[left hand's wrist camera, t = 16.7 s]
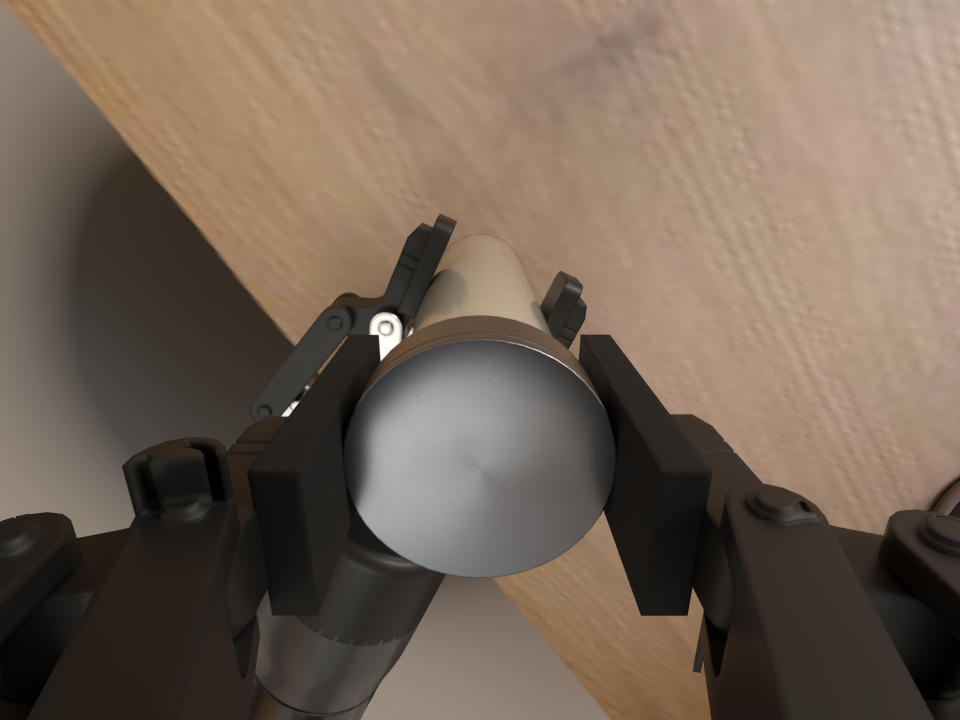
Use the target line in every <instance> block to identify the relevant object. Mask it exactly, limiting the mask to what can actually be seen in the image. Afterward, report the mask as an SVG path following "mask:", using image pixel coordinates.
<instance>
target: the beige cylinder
mask: <svg viewBox="0 0 960 720" xmlns="http://www.w3.org/2000/svg"><path fill="white" fill-rule="evenodd" d="M474 315H487V316H499V317H504V318H509V319H514V320H517V321H520V322H523V323H526V324H529V325H531V326H534V327H536V328H538V329H540V330H542V331H544V332H546V333H547V334H549V335H550V336H552V334H551V332H550V330H549V327H548V325H547V322H546V320H545V318H544V315H543V313H542V311H541V308H540V306H539V303H538V301H537V299H536V296H535V294H534V291H533V289H532V287H531V284H530V282H529V280H528V277H527V275H526V272H525V270H524V268H523V265H522V263H521V261H520V259H519V257H518V255H517V254H516V252H515V251H514V250H513V249H512V248H511V247H510V246H509V245H508V244H506V243H505V242H503V241H502V240H500V239H498V238H495V237H492V236H487V235H472V236H468V237H465V238H462V239H460V240H458V241H456V242H455V243H453V244H452V245H451V246H450V247H449V248H448V249H447V250H446V251H445V252H444V253H443V255H442V258H441V260H440V262H439V264H438V267H437V269H436V271H435V274H434V276H433V278H432V281H431V283H430V285H429V287H428V290H427V292H426V294H425V296H424V298H423V300H422V303H421V305H420V308H419V310H418V312H417V315H416V317H415V319H414V322H413V324H412V327H411V329H410V331H409V334H408V336H410V335H411V334H413V333H414V332H416V331H418V330H420V329H422V328H424V327H426V326H429V325H431V324H433V323H437V322H440V321H443V320H446V319H450V318H456V317H461V316H474ZM408 336H407V337H408Z"/></svg>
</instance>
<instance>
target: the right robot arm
mask: <svg viewBox="0 0 960 720" xmlns="http://www.w3.org/2000/svg"><path fill="white" fill-rule="evenodd" d="M456 223H457V221H455V220H453V219H451V218H449V217H446V216H444V215H442V214H440V215H439V216H438V218H437V220H436V222H435V224H434V226H433V227H431V226H429V225H426V224H424V223H421V224H420V225H419V226H418V227H417V228H416V229H415V230H414V231H413V232H412V233H411V235H410V236H409V237H408V238H407V240H406V243H405V245H404V248H403V250H402V253H401V255H400V258H399V260H398V263H397V265H396V267H395V270H394V272H393V275H392V277H391V280H390V282H389V285H388V287H387V290H386V292H385V294H384V295H383V296H381V297H378V298H363V297H359V296H358V295H356V294H354V293H343V294H341V295H340V296H339V297H338V298H337V299H336V300H335V301H334V302H333V304H332V305H331V306H329V307H327V308H326V309H325V310H324V311H323V312H322V313H321V314H320V316H319V317H318V318H317V319H316V321H315V322H314V323H313V325H312V326H311V327H310V328H309V330H308V331H307V332H306V334H305V335H304V336H303V337H302V339H301V340H300V341H299V343H298V344H297V345H296V346H295V348H294V349H293V350H292V352H291V353H290V354H289V355H288V357H287V358H286V359H285V361H284V362H283V363H282V365H281V366H280V367H279V368H278V370H277V371H276V372H275V373H274V375H273V376H272V377H271V379H270V380H269V381H268V383H267V384H266V385H265V386H264V388H263V389H262V390H261V391H260V393H259V394H258V395H257V397H256V398H255V399H254V401H253V402H252V403H251V405H250V409H249V411H250V415H251V417H252V418H253V419H254V420H255V421H256V422H259V421H260V420H262V419H264V418H266V417H267V416H289V415H290V413H291V412H292V411H293V409H294V408H295V407H296V405H297V404H298V403H299V401H300V400H301V399H302V397H303V396H304V395H305V394H306V392H307V391H308V390H309V388H310V387H311V386H312V384H313V383H314V382H315V380H316V379H315V378H313V376H314V375H315V374H316V373H317V371H318V370H319V369H320V368H321V367H322V365H323V364H324V363H325V362H326V360H327V359H328V358H329V357H330V355H331V354H332V353H333V352H334V350H335V349H336V348H337V347H338V345H339V344H340V343H341V342H342V340H343V339H344V338H345V337H346V336H349V335H379V342H380V357H381V361H382V359H383V358H384V357H385V356H386V355H387V354H388V353H389V352H390V350H391V349H393V348H394V347H395V346H396V345H397V344H399V343H400V342H401V341H402V340H403V339H405V338H407V336H408V334H409V321H410V318H412V319H415V317H416V315H417V312H418V310H419V308H420V305H421V303H422V300H423V298H424V296H425V294H426V292H427V290H428V287H429V285H430V283H431V281H432V278H433V276H434V274H435V271H436V269H437V267H438V264H439V262H440V260H441V258H442V255H443V253H444V251H445V248H446V246H447V244H448V241H449V239H450V237H451V234H452V232H453V230H454V228H455V225H456ZM582 289H583V286H582V284H581V283H580V282H579V281H578V280H577V279H576V278H574V277H572V276H570V275H568V274H566V273H564V272H562V271H560V272H559V273H558V274H557V276H556V277H555V279H554V281H553V283H552V285H551V287H550V288H549V290H548V292H547V294H546V296H545V298H544V300H543V302H542V304H541V306H540V308H541V311H542V313H543V315H544V318H545V320H546V322H547V325H548V327H549V330H550V332H551V334H552V337H553V338H554V339H556V340H557V341H559V342H560V343H561V344H562V345H563V346H565V347H566V348H567V349H569V348H570V346H571V344H572V341H573V340H574V339H575V337H576V335H577V332H578V331H579V329H580V328H581V326H582V324H583V322H584V320H585V315H586V308H587V305H586V304H585V303H584V301H583V300H582V299H581V297H580V295H581V293H582ZM933 512H938V513H943V514H944V515H946V516H947V515H950V516H953V517H957V518H959V519H960V480H959V481H958V482H957V483H956V484H954V485H953V486H952V487H951V488H950V489H949V490H948V491H947V492H946V493H945V494H944V495H943V496H942V498H941V499H940V500H939V501H938V503H937V504H936V506H935V507H934V509H933ZM445 575H446V574H443V573H440V572H436V571H433V570H429V569H427V568H424V567H422V566H419V565H417V564H414V563H413V562H411V561H409V560H407V559H405V558H403V557H401V556H400V555H398V554H397V553H396V552H394V551H393V550H391V549H390V548H388V547H387V546H386V545H385V544H384V543H383V542H382V541H380V540H379V539H378V538H377V537H376V536H375V535H374V534H373V533H372V531H371V530H370V529H369V528H368V527H367V526H366V525H365V523H364V522H363V520H362V519H361V517H360V516H359V514H358V513H357V511H356V512H355V515H354V518H353V520H352V523H351V526H350V529H349V532H348V534H347V537H346V540H345V543H344V546H343V548H342V551H341V554H340V557H339V560H338V562H337V565H336V568H335V571H334V574H333V577H332V579H331V582H330V585H329V588H328V591H327V593H326V596H325V599H324V602H323V605H322V607H321V610H320V613H319V616H272V612H271V606H270V600H269V595H268V589H267V591H266V593H265V595H264V597H263V599H262V601H261V603H260V605H259V607H258V609H257V611H256V613H257V618H258V623H259V630H260V641H259V648H258V655H257V663H256V670H255V677H254V685H253V692H252V699H251V707H250V714H249V720H360V719H361V717H362V715H363V713H364V711H365V709H366V708H367V706H368V704H369V702H370V700H371V698H372V697H373V695H374V693H375V691H376V689H377V688H378V686H379V684H380V683H381V681H382V680H383V678H384V677H385V676H386V675H387V674H388V672H389V671H390V670H391V669H392V667H393V666H394V665H395V663H396V662H397V660H398V659H399V658H400V656H401V655H402V653H403V651H404V649H405V648H406V646H407V644H408V642H409V641H410V639H411V637H412V635H413V633H414V632H415V630H416V628H417V626H418V624H419V623H420V621H421V619H422V617H423V615H424V614H425V612H426V610H427V608H428V606H429V605H430V603H431V601H432V599H433V597H434V595H435V593H436V592H437V590H438V588H439V586H440V584H441V583H442V581H443V579H444V577H445Z"/></svg>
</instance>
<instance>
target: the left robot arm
mask: <svg viewBox="0 0 960 720" xmlns="http://www.w3.org/2000/svg"><path fill="white" fill-rule="evenodd" d="M380 362H381V357H380V342H379V335H349V337H348V338H347V339H346V341H345V342H344V343H343V345H342V346H341V347H340V349H339V350H338V351H337V353H336V354H335V355H334V356H333V358H332V359H331V360H330V362H329V363H328V364H327V366H326V367H325V368H324V370H323V371H322V372H321V374H320V375H319V376H318V378H317V379H316V380H315V382H314V383H313V384H312V386H311V387H310V388H309V390H308V391H307V392H306V394H305V395H304V396H303V397H302V399H301V400H300V401H299V403H298V404H297V405H296V407H295V408H294V409H293V411H292V412H291V413H290V415H289V416H267V417H266V418H264V419H262V420H260V421H259V422H257V423H255V424H254V425H252V426H250V427H248V428H247V429H246V431H245V432H244V433H243V434H242V435H241V436H240V437H239V439H238V440H237V441H236V444H233V445H232V447H231V448H230V449H229V450H228V451H227V452H226V449H225V445H224V444H222V443H221V442H219V441H218V440H215V439H210V438H205V437H195V438H182V439H177V440H172V441H167V442H164V443H161V444H158V445H155V446H153V447H149V448H147V449H145V450H143V451H142V452H140V453H138V454H136V455H134V456H133V457H131V458H130V459H129V460H128V461H127V462H126V463H125V464H124V465H123V466H122V468H123V471H124V475H125V479H126V482H127V486H128V490H129V494H130V497H131V501H132V505H133V509H134V512H135V518H134V520H133V522H132V524H131V526H130V528H126V529H122V530H117V531H112V532H107V533H101V534H96V535H91V536H86V537H81V538H77V537H76V534H75V531H74V528H73V525H72V522H71V520H70V519H69V518H68V517H66V516H65V515H63V514H58V513H50V512H45V513H37V514H25V515H21V516H17V517H16V518H13V517H12V518H9V519H6V520H3V521H1V522H0V720H249V714H250V707H251V699H252V692H253V685H254V677H255V670H256V663H257V655H258V648H259V641H260V630H259V623H258V618H257V613H256V611H257V609H258V607H259V605H260V603H261V601H262V599H263V597H264V595H265V593H266V591H267V589H268V595H269V600H270V606H271V612H272V616H319V613H320V610H321V607H322V605H323V602H324V599H325V596H326V593H327V591H328V588H329V585H330V582H331V579H332V577H333V574H334V571H335V568H336V565H337V562H338V560H339V557H340V554H341V551H342V548H343V546H344V543H345V540H346V537H347V534H348V532H349V529H350V526H351V523H352V520H353V518H354V515H355V512H356V509H355V507H354V505H353V502H352V500H351V498H350V496H349V492H348V489H347V486H346V483H345V473H344V464H343V444H344V437H345V433H346V429H347V426H348V423H349V420H350V417H351V415H352V413H353V411H354V409H355V407H356V405H357V403H358V401H359V399H360V397H361V395H362V393H363V391H364V389H365V387H366V385H367V383H368V381H369V379H370V377H371V375H372V374H373V372H374V371H375V369H376V368H377V366H378V365H379V363H380ZM579 362H580V364H581V365H582V366H583V368H584V370H585V371H586V373H587V375H588V376H589V378H590V380H591V382H592V384H593V386H594V388H595V390H596V392H597V394H598V395H599V397H600V399H601V401H602V403H603V405H604V407H605V409H606V412H607V414H608V416H609V419H610V421H611V423H612V427H613V431H614V435H615V438H616V447H617V460H616V470H615V479H614V485H613V488H612V491H611V494H610V497H609V500H608V502H607V504H606V506H605V508H604V513H605V516H606V518H607V521H608V524H609V527H610V530H611V533H612V535H613V538H614V541H615V544H616V547H617V549H618V552H619V555H620V558H621V561H622V563H623V566H624V569H625V572H626V575H627V577H628V580H629V583H630V586H631V589H632V592H633V594H634V597H635V600H636V603H637V606H638V608H639V611H640V614H641V616H687V615H688V610H689V604H690V598H691V593H692V587H693V589H694V591H695V593H696V595H697V597H698V599H699V601H700V603H701V605H702V607H703V609H704V612H703V618H702V623H701V628H700V634H699V639H698V644H697V650H696V655H695V660H694V668H693V671H694V672H698V673H701V668H702V663H703V661H704V669H705V676H706V683H707V691H708V698H709V705H710V712H711V720H960V519H959V518H957V517H953V516H950V515H947V516H946V515H944V514H943V513H938V512H933V511H931V512H929V511H921V510H905V511H898V512H896V513H895V514H893V515H892V516H891V517H889V520H888V523H887V526H886V530H885V533H884V536H882V535H877V534H872V533H866V532H861V531H856V530H851V529H845V528H840V527H836V526H832V525H829V523H828V521H827V519H826V517H825V515H824V514H823V513H822V512H821V511H820V510H819V509H818V507H817V506H816V505H815V504H813V503H812V502H810V501H809V500H807V499H806V498H804V497H803V496H801V495H799V494H797V493H794V492H792V491H789V490H787V489H784V488H781V487H777V486H772V485H768V484H763V483H762V482H761V481H760V480H759V479H758V477H757V476H756V475H755V474H754V473H753V472H752V471H751V469H750V468H749V467H748V466H747V465H746V464H745V463H744V462H743V460H742V459H741V458H740V457H739V456H738V455H737V454H736V453H734V452H733V451H734V450H733V449H732V448H731V447H730V446H729V445H728V443H727V442H724V439H723V438H722V437H721V436H720V434H719V433H718V432H717V431H716V430H715V429H714V428H713V426H711V425H710V424H708V423H706V422H704V421H703V420H701V419H699V418H697V417H696V416H694V415H692V414H669V412H668V411H667V410H666V409H665V407H664V406H663V405H662V403H661V402H660V401H659V399H658V398H657V397H656V395H655V394H654V393H653V391H652V390H651V389H650V387H649V386H648V385H647V383H646V382H645V381H644V379H643V378H642V377H641V375H640V374H639V373H638V371H637V370H636V369H635V368H634V366H633V365H632V364H631V362H630V361H629V360H628V358H627V357H626V356H625V354H624V353H623V352H622V350H621V349H620V348H619V346H618V345H617V344H616V342H615V341H614V340H613V338H612V337H611V336H610V335H581V338H580V352H579ZM226 453H227V454H226Z"/></svg>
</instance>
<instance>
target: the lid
mask: <svg viewBox="0 0 960 720" xmlns="http://www.w3.org/2000/svg"><path fill="white" fill-rule="evenodd" d="M616 460H617V447H616V438H615V435H614V431H613V427H612V423H611V421H610V419H609V416H608V414H607V412H606V409H605V407H604V405H603V403H602V401H601V399H600V397H599V395H598V394H597V392H596V390H595V388H594V386H593V384H592V382H591V380H590V378H589V376H588V375H587V373H586V371H585V370H584V368H583V366H582V365H581V364H580V362H579V361H578V360H577V359H576V358H575V356H574V355H573V354H572V353H571V352H570V351H569V350H568V349H567V348H566V347H565V346H563V345H562V344H561V343H560V342H559V341H557V340H556V339H554V338H553V337H552V336H550V335H549V334H547V333H546V332H544V331H542V330H540V329H538V328H536V327H534V326H531V325H529V324H526V323H523V322H520V321H517V320H514V319H509V318H504V317H499V316H487V315H474V316H461V317H456V318H450V319H446V320H443V321H440V322H437V323H433V324H431V325H429V326H426V327H424V328H422V329H420V330H418V331H416V332H414V333H413V334H411V335H410V336H408V337H407V338H405V339H403V340H402V341H401V342H400V343H399V344H397V345H396V346H395V347H394V348H393V349H391V350H390V352H389V353H388V354H387V355H386V356H385V357H384V358H383V359H382V361H381V362H380V363H379V365H378V366H377V368H376V369H375V371H374V372H373V374H372V375H371V377H370V379H369V381H368V383H367V385H366V387H365V389H364V391H363V393H362V395H361V397H360V399H359V401H358V403H357V405H356V407H355V409H354V411H353V413H352V415H351V417H350V420H349V423H348V426H347V429H346V433H345V437H344V444H343V464H344V473H345V483H346V486H347V489H348V492H349V496H350V498H351V500H352V502H353V505H354V507H355V509H356V511H357V513H358V514H359V516H360V517H361V519H362V520H363V522H364V523H365V525H366V526H367V527H368V528H369V529H370V530H371V531H372V533H373V534H374V535H375V536H376V537H377V538H378V539H379V540H380V541H382V542H383V543H384V544H385V545H386V546H387V547H388V548H390V549H391V550H393V551H394V552H396V553H397V554H398V555H400V556H401V557H403V558H405V559H407V560H409V561H411V562H413V563H414V564H417V565H419V566H422V567H424V568H427V569H429V570H433V571H436V572H440V573H443V574H448V575H454V576H459V577H471V578H488V577H500V576H506V575H512V574H516V573H520V572H524V571H527V570H530V569H533V568H535V567H538V566H541V565H543V564H545V563H547V562H549V561H551V560H553V559H555V558H557V557H558V556H560V555H561V554H563V553H564V552H566V551H567V550H569V549H570V548H571V547H572V546H573V545H575V544H576V543H577V542H578V541H579V540H581V539H582V538H583V537H584V535H585V534H586V533H587V532H588V531H589V530H590V529H591V528H592V527H593V525H594V524H595V522H596V521H597V519H598V518H599V517H600V515H601V514H602V512H603V510H604V508H605V506H606V504H607V502H608V500H609V497H610V494H611V491H612V488H613V485H614V479H615V470H616Z"/></svg>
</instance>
